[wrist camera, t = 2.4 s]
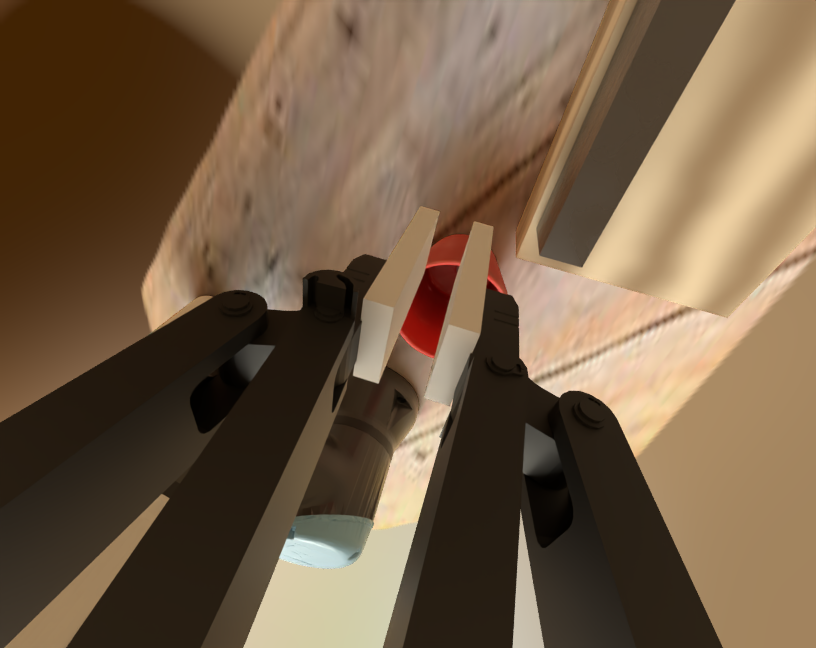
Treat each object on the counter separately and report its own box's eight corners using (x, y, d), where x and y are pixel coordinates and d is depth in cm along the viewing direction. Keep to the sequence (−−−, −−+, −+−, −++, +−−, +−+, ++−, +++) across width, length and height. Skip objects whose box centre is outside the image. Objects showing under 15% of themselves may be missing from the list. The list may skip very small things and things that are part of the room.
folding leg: (686, -124, 17) (735, -175, 13) (762, -109, 17) (835, -156, 13) (532, 227, 29) (535, 254, 25) (576, 239, 28) (586, 268, 25)
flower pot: (533, 245, 36) (537, 296, 29) (481, 321, 43) (474, 378, 35) (438, 200, 36) (417, 240, 28) (401, 284, 42) (376, 334, 35)
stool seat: (515, 230, 36) (516, 257, 31) (662, -128, 21) (704, -180, 16) (698, 281, 34) (727, 317, 30) (986, -62, 20) (1131, -97, 15)
